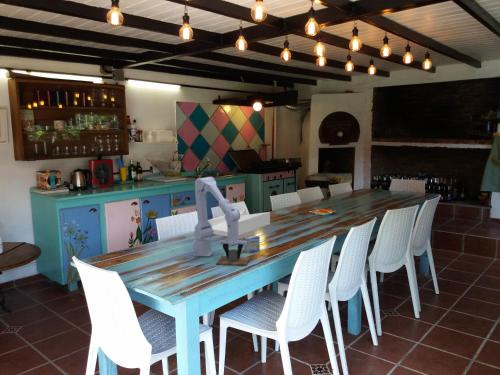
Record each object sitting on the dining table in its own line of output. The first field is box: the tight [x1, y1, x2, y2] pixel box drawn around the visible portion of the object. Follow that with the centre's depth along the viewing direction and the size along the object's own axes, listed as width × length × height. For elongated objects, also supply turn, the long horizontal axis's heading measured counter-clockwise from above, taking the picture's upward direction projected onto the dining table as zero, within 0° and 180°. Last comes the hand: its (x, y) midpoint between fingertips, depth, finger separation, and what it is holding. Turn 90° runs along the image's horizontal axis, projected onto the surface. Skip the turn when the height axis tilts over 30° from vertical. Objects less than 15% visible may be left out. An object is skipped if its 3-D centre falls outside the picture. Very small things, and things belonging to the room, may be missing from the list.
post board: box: [215, 255, 251, 267], centre depth 215 cm, size 16×12×5 cm
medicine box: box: [243, 234, 261, 254], centre depth 233 cm, size 8×4×9 cm, turn 126°
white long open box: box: [208, 208, 271, 237], centre depth 289 cm, size 45×22×10 cm, turn 145°
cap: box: [228, 248, 239, 262], centre depth 215 cm, size 5×5×6 cm
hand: (233, 257), depth 215 cm, fingers closed on cap, 5 cm apart
